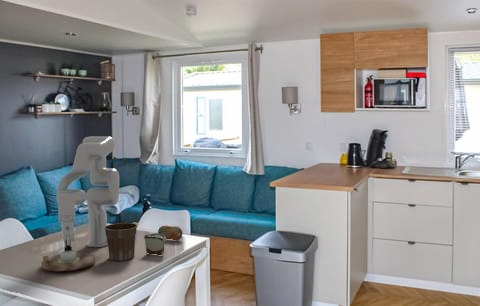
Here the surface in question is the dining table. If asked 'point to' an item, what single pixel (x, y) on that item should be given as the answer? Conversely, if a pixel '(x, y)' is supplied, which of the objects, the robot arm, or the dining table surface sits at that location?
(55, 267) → the disc
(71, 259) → the sage green rounded cylinder
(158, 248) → the food container
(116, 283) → the dining table surface
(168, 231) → the tin
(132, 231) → the plant pot
